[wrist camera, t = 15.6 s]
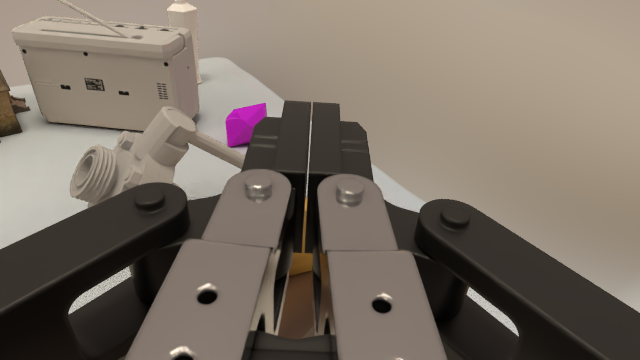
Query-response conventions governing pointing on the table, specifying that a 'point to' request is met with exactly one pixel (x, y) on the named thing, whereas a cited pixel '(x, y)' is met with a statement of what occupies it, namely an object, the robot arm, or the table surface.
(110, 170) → the valve
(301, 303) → the panel
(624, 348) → the robot arm
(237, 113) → the crystal
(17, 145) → the table surface
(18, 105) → the miniature house
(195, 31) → the perfume bottle
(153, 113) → the radio
